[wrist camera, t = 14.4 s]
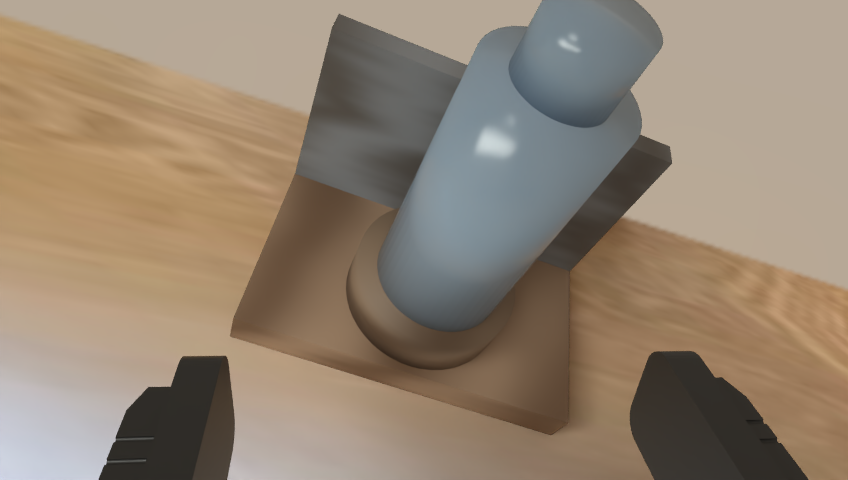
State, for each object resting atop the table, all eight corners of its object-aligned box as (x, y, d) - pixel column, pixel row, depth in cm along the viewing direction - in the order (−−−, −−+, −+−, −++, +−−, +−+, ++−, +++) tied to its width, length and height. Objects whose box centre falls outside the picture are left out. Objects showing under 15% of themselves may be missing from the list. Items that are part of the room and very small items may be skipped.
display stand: (229, 336, 24) (258, 181, 17) (296, 178, 30) (339, 12, 23) (550, 434, 26) (697, 334, 19) (555, 269, 32) (669, 145, 25)
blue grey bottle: (364, 307, 23) (505, 30, 13) (391, 206, 26) (519, -73, 17) (492, 348, 24) (710, 114, 14) (502, 245, 27) (685, 1, 17)
